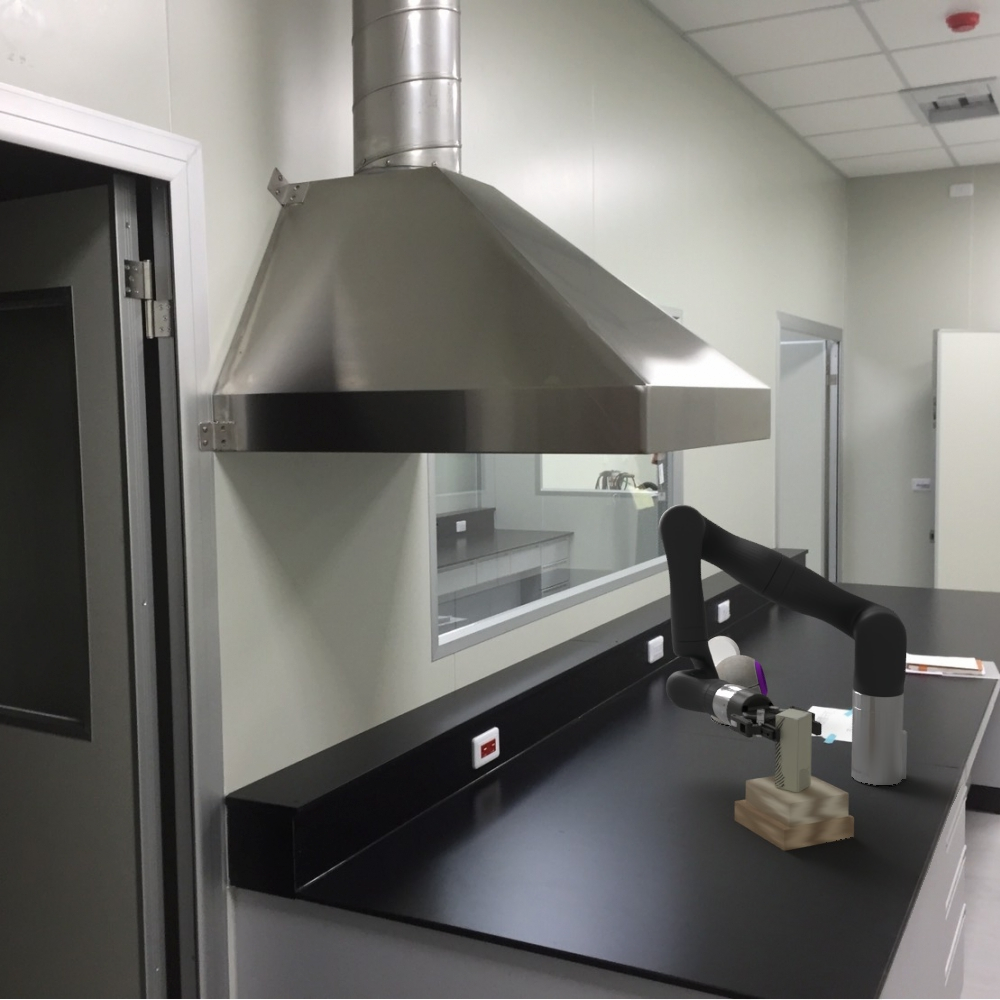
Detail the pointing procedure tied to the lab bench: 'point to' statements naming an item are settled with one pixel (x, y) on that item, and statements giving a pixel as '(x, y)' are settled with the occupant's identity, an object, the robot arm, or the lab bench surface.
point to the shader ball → (742, 674)
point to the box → (793, 750)
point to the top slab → (797, 801)
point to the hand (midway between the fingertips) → (799, 732)
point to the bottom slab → (792, 828)
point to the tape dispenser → (722, 648)
